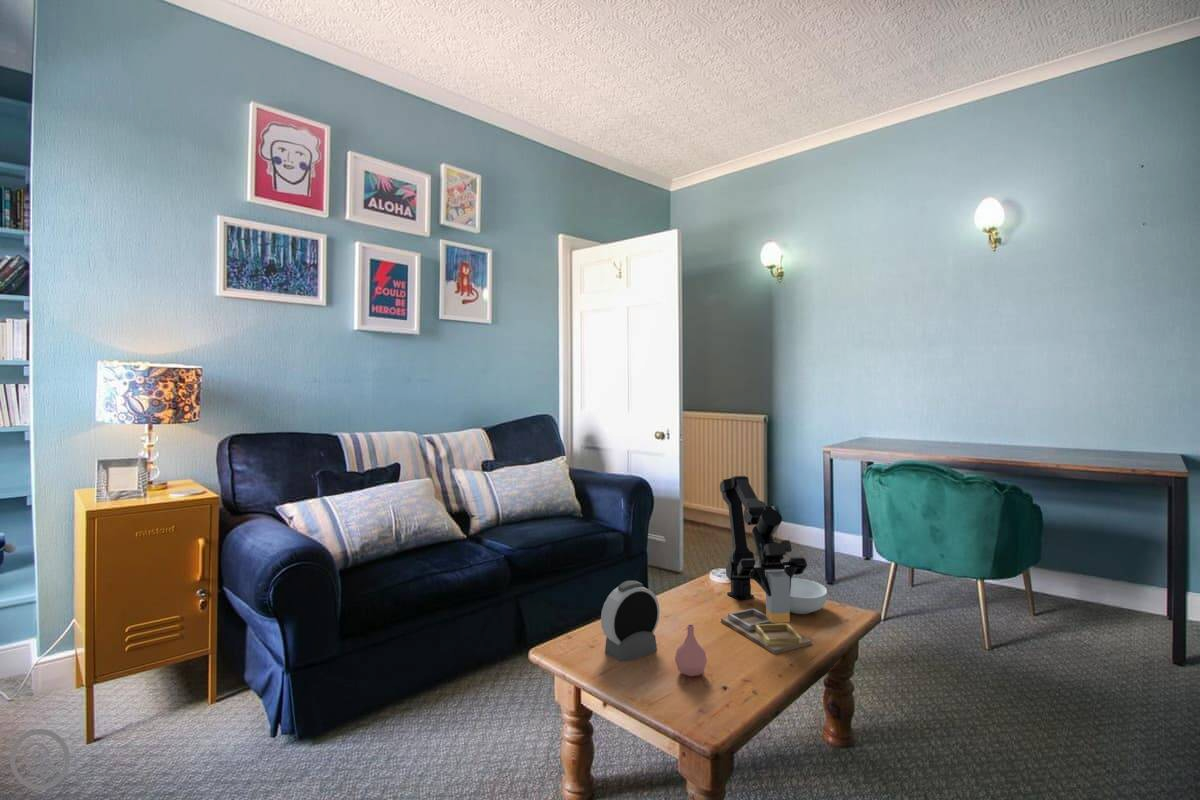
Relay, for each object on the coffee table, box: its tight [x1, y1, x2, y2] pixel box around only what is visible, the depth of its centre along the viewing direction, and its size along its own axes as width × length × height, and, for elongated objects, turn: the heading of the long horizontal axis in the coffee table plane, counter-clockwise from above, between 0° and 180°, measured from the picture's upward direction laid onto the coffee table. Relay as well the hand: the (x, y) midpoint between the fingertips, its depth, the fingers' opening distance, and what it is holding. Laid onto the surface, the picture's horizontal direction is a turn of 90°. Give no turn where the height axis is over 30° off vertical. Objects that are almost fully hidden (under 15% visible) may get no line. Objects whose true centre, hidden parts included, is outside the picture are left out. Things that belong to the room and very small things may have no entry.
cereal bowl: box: [790, 577, 828, 615], centre depth 182 cm, size 17×17×7 cm
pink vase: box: [674, 624, 708, 677], centre depth 143 cm, size 8×8×12 cm
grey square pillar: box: [765, 570, 791, 623], centre depth 160 cm, size 4×5×12 cm
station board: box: [720, 607, 813, 655], centre depth 166 cm, size 23×13×2 cm, turn 25°
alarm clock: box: [600, 580, 661, 662], centre depth 156 cm, size 16×10×18 cm, turn 123°
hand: (779, 595), depth 159 cm, fingers closed on grey square pillar, 5 cm apart
